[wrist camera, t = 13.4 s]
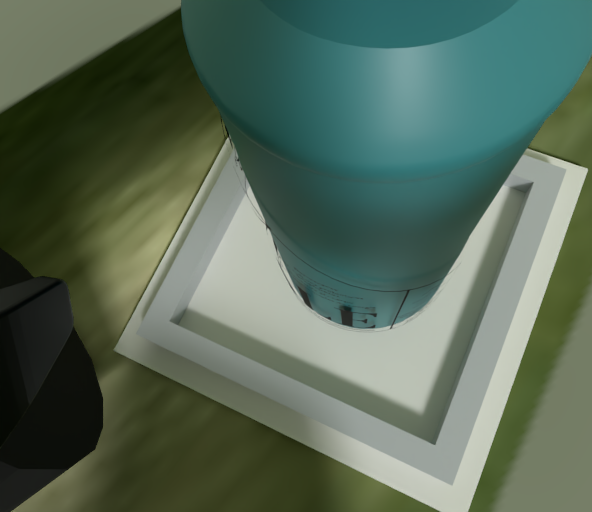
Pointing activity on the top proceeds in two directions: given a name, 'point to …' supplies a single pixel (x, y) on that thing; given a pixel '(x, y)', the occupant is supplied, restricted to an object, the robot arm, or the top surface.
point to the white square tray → (358, 334)
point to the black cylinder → (50, 416)
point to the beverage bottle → (381, 128)
